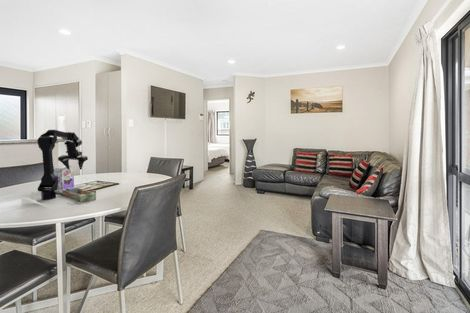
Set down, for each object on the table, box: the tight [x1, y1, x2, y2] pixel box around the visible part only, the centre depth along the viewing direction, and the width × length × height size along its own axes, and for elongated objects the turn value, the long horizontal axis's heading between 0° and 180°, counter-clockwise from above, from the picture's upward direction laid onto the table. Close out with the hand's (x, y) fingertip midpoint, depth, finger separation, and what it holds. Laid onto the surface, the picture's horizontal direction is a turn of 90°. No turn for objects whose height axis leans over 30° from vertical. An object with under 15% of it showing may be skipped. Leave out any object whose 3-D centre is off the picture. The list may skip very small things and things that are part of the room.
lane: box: [61, 187, 97, 203], centre depth 167 cm, size 15×25×4 cm, turn 56°
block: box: [65, 186, 79, 194], centre depth 170 cm, size 5×5×4 cm
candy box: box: [53, 165, 75, 191], centre depth 189 cm, size 14×6×16 cm, turn 179°
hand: (74, 169), depth 188 cm, fingers open, 9 cm apart
